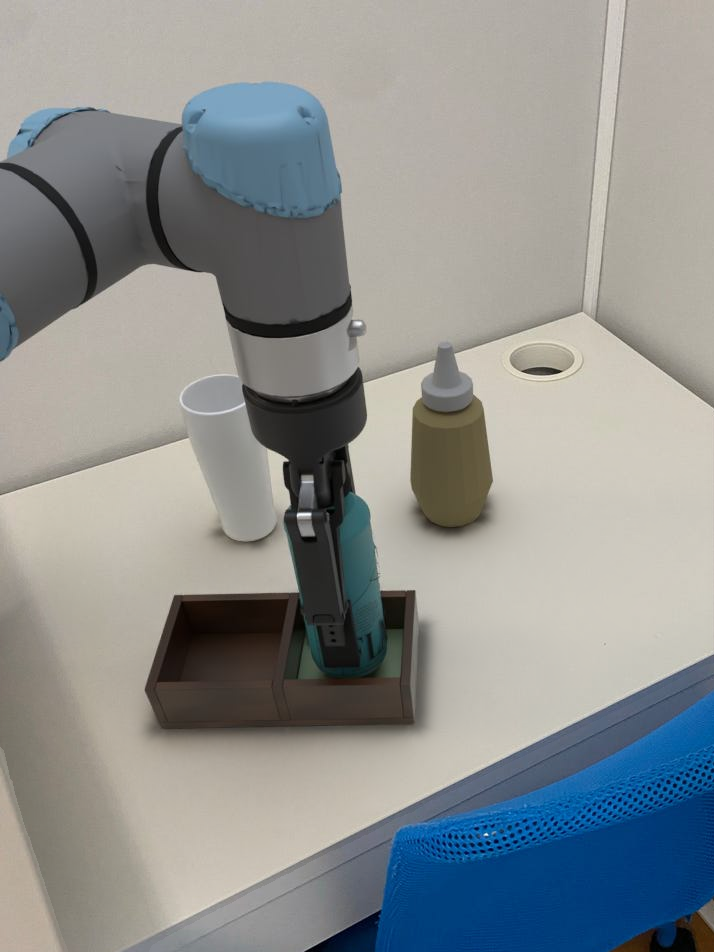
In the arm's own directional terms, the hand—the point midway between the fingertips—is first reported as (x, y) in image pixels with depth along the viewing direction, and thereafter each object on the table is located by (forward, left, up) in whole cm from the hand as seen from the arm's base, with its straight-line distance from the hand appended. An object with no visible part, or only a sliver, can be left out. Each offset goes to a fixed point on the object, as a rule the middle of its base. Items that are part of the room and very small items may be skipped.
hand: (346, 631), depth 75 cm
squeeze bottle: (+8, +22, -6) cm, 24 cm away
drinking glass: (-12, +20, -5) cm, 24 cm away
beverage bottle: (0, 0, -4) cm, 4 cm away
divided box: (-5, 0, -5) cm, 7 cm away
